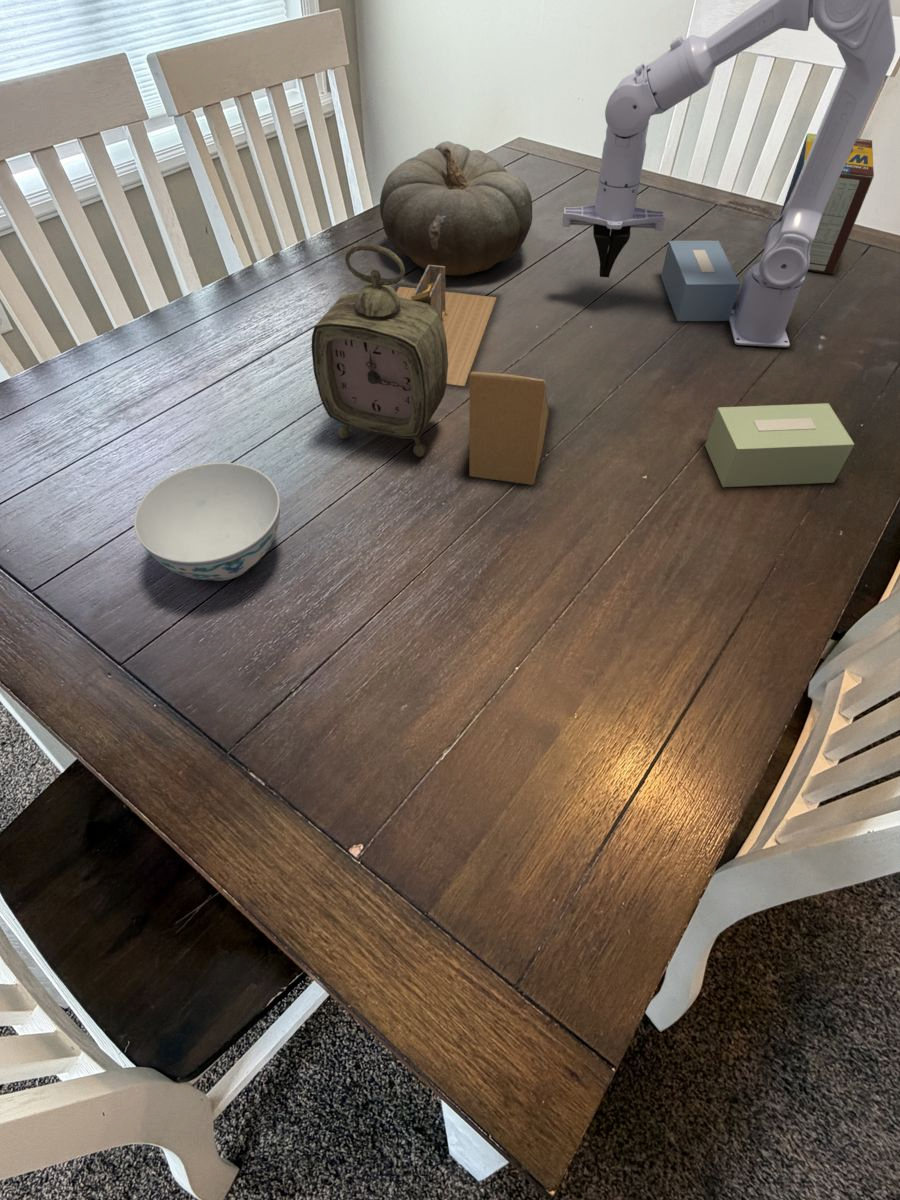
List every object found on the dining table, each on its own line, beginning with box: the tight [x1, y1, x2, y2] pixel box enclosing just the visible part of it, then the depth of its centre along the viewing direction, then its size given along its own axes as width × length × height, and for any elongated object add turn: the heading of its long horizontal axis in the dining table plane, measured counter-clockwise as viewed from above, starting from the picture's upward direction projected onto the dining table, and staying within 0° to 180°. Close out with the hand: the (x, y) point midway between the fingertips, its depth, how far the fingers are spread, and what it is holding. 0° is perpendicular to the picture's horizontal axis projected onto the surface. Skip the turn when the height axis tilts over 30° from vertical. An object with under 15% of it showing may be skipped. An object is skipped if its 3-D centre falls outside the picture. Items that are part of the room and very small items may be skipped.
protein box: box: [779, 132, 875, 275], centre depth 122 cm, size 10×15×16 cm
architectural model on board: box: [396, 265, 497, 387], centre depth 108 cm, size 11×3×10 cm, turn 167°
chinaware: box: [133, 462, 281, 582], centre depth 80 cm, size 15×15×8 cm
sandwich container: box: [468, 371, 550, 486], centre depth 90 cm, size 9×15×15 cm, turn 168°
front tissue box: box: [704, 402, 855, 488], centre depth 90 cm, size 8×14×6 cm, turn 93°
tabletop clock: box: [311, 243, 448, 458], centre depth 87 cm, size 14×9×25 cm, turn 70°
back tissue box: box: [660, 240, 741, 322], centre depth 116 cm, size 14×8×6 cm, turn 0°
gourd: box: [379, 140, 533, 277], centre depth 121 cm, size 25×25×17 cm
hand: (604, 274), depth 113 cm, fingers closed
